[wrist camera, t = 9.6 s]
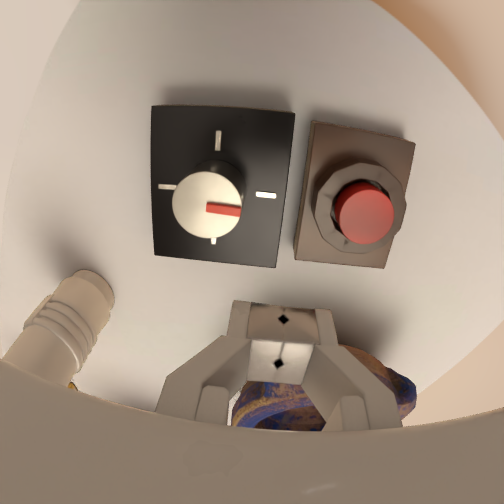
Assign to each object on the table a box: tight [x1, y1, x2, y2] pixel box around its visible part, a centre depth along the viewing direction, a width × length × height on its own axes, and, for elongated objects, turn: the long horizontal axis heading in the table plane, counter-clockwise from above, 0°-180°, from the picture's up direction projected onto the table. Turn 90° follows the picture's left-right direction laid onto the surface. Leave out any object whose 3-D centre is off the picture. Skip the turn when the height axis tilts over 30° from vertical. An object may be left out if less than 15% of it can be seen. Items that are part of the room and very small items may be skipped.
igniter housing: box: [293, 121, 416, 269], centre depth 22 cm, size 11×8×4 cm
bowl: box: [231, 344, 417, 431], centre depth 30 cm, size 18×18×10 cm
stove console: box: [151, 104, 295, 268], centre depth 23 cm, size 12×10×3 cm
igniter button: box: [334, 182, 394, 244], centre depth 20 cm, size 4×4×2 cm
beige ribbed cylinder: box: [2, 270, 114, 387], centre depth 24 cm, size 7×7×15 cm
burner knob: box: [172, 160, 246, 238], centre depth 20 cm, size 4×4×4 cm
